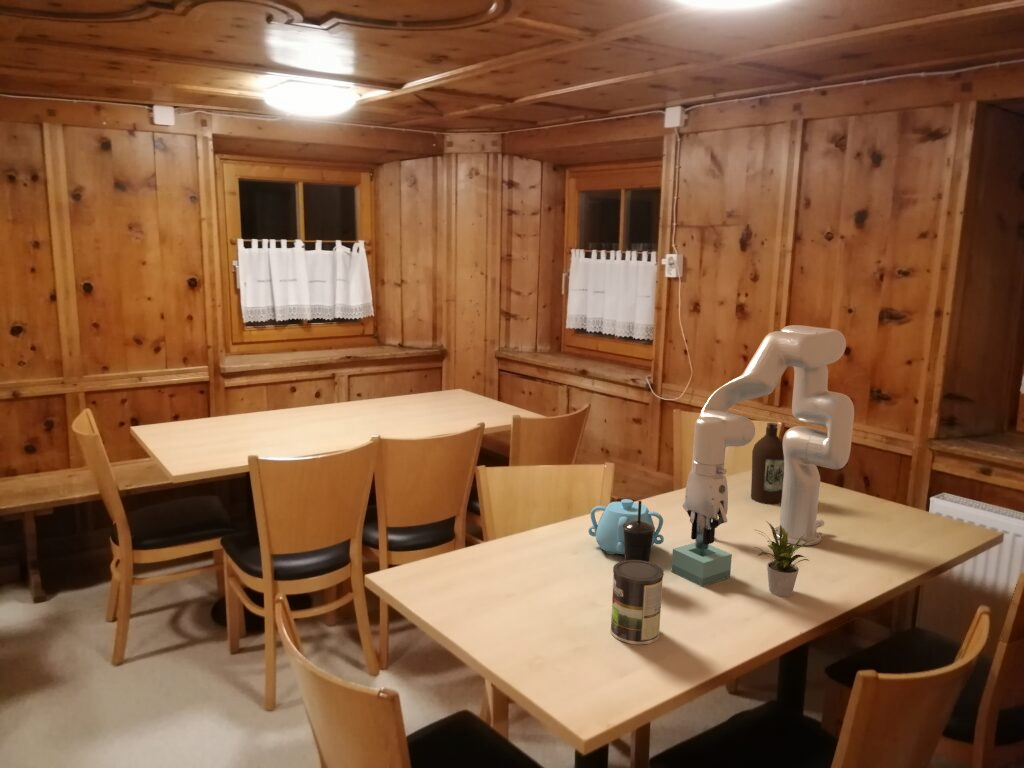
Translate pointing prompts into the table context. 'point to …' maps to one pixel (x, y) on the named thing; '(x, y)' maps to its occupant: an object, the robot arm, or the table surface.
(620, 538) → the decorative pot
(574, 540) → the table surface
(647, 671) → the table surface
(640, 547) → the drinking cup
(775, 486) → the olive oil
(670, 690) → the table surface
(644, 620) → the coffee can
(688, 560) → the bore block
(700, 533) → the pin
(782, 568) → the house plant
